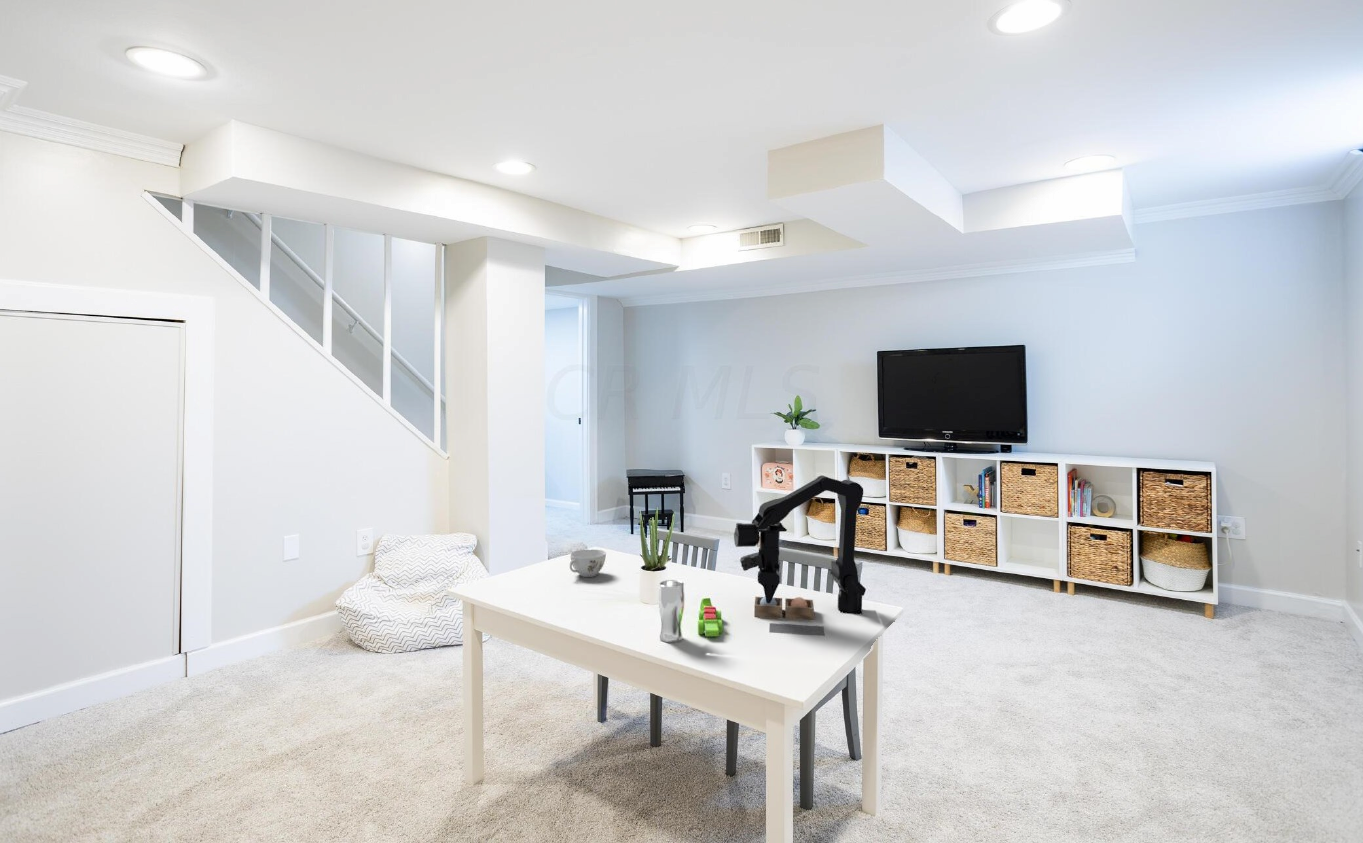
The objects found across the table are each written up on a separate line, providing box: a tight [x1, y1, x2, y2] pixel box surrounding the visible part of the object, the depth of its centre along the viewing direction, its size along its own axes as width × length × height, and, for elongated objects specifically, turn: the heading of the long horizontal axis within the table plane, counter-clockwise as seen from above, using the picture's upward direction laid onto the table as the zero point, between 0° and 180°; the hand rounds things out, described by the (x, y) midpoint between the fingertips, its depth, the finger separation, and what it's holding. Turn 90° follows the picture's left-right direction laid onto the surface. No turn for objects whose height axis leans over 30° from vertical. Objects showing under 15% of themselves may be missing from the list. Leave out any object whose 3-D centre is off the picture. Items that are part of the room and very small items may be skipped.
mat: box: [768, 622, 826, 637], centre depth 186 cm, size 15×7×1 cm, turn 82°
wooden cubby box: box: [784, 597, 815, 621], centre depth 197 cm, size 8×8×4 cm
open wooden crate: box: [753, 596, 783, 619], centre depth 198 cm, size 8×8×4 cm
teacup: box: [569, 549, 607, 578], centre depth 236 cm, size 15×12×8 cm
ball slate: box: [760, 596, 777, 606], centre depth 198 cm, size 5×5×5 cm
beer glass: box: [658, 579, 686, 644], centre depth 179 cm, size 7×7×15 cm
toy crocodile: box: [697, 597, 723, 637], centre depth 187 cm, size 20×7×6 cm, turn 179°
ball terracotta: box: [790, 596, 808, 608], centre depth 197 cm, size 5×5×5 cm
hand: (768, 597), depth 198 cm, fingers open, 9 cm apart
